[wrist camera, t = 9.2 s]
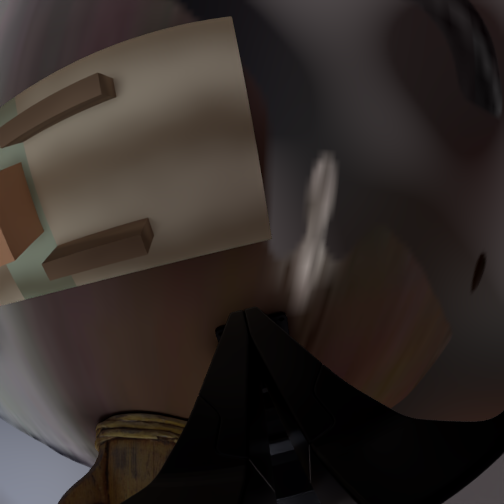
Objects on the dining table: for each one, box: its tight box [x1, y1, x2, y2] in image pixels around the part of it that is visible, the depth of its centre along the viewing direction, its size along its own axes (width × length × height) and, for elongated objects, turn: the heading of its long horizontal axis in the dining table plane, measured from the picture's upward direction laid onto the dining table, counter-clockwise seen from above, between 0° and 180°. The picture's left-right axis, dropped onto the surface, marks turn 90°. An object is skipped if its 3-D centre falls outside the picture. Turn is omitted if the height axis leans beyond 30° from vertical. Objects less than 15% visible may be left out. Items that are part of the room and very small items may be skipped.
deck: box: [0, 17, 272, 306], centre depth 13 cm, size 14×28×6 cm, turn 99°
